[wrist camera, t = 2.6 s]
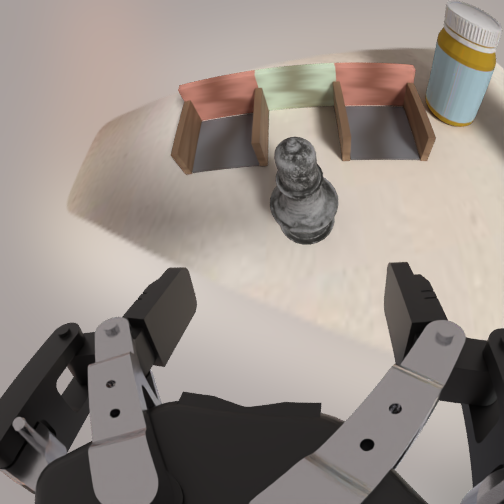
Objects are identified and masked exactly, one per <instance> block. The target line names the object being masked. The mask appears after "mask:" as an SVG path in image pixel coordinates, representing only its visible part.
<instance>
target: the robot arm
mask: <svg viewBox="0 0 504 504" xmlns="http://www.w3.org/2000/svg"><path fill="white" fill-rule="evenodd" d="M196 307H197V301H196V297H195V293H194V289H193V285H192V282H191V278H190V274H189V271H188V269H187V268H168V269H167V270H166V271H165V272H164V274H163V275H162V276H161V277H160V278H159V279H158V280H156V281H155V282H153V283H152V284H150V285H149V286H148V287H147V288H146V289H145V290H144V292H143V294H141V295H140V296H139V298H138V300H136V301H135V302H134V304H133V305H132V306H131V307H130V308H129V310H128V311H127V312H126V313H125V314H124V316H123V317H115V318H111V319H108V320H106V321H104V322H103V323H101V324H100V325H99V326H98V327H97V329H96V331H95V332H92V333H84V334H83V333H82V331H81V329H80V327H79V325H78V324H76V323H67V324H65V325H62V326H61V327H59V328H58V329H56V330H55V331H54V332H53V334H52V335H51V336H50V337H49V338H48V339H47V340H46V342H45V343H44V344H43V345H42V346H41V348H40V349H39V350H38V351H37V353H36V354H35V355H34V356H33V357H32V358H31V360H30V361H29V362H28V363H27V365H26V366H25V367H24V368H23V370H22V371H21V372H20V373H19V375H18V376H17V377H16V379H15V380H14V381H13V383H12V384H11V385H10V386H9V388H8V389H7V390H6V392H5V393H4V394H3V396H2V397H1V398H0V471H1V472H3V473H4V474H5V475H7V476H8V477H9V478H10V479H12V480H13V481H14V482H16V483H18V484H20V485H22V486H23V487H24V488H25V489H27V490H28V491H30V492H31V493H33V494H35V504H428V503H427V502H426V501H424V499H423V498H422V497H421V496H420V495H419V494H418V493H417V492H416V491H415V490H414V489H413V488H412V487H411V486H410V485H409V484H408V483H407V482H406V481H405V480H404V479H403V478H402V477H401V476H400V475H399V474H398V473H397V472H396V471H395V469H396V468H397V466H398V465H399V463H400V462H401V461H402V459H403V458H404V456H405V455H406V454H407V452H408V450H409V449H410V447H411V446H412V444H413V443H414V441H415V440H416V438H417V437H418V435H419V433H420V432H421V430H422V429H423V427H424V426H425V424H426V422H427V421H428V419H429V417H430V416H431V414H432V412H433V410H434V409H435V407H436V405H437V403H438V402H439V400H440V401H447V402H454V403H461V405H462V409H463V415H464V420H465V426H466V432H467V438H468V444H469V452H470V460H471V470H472V481H473V489H471V490H470V491H469V492H468V493H467V494H466V495H465V496H464V498H463V499H462V501H461V504H504V329H503V328H502V329H496V330H494V331H493V332H492V333H491V334H490V335H489V338H488V340H487V341H485V340H477V339H471V338H467V337H465V333H464V331H463V330H462V328H461V327H460V326H458V325H457V324H455V323H453V322H451V321H448V319H447V317H446V315H445V313H444V311H443V309H442V307H441V304H440V302H439V300H438V299H437V296H436V294H435V292H433V288H432V286H431V284H430V282H429V281H428V280H427V279H425V278H424V277H423V276H422V275H420V274H418V275H414V274H413V272H412V270H411V268H410V266H409V264H408V263H407V262H396V263H389V264H388V267H387V277H386V287H385V296H384V311H385V316H386V320H387V325H388V329H389V333H390V338H391V343H392V347H393V352H394V357H395V362H396V364H394V365H393V366H392V367H391V368H390V369H389V371H388V372H387V373H386V374H385V376H384V377H383V378H382V380H381V381H380V382H379V383H378V385H377V386H376V387H375V388H374V389H373V391H372V392H371V393H370V394H369V395H368V397H367V398H366V399H365V400H364V402H363V403H362V404H361V405H360V406H359V407H358V408H357V409H356V410H355V412H354V413H353V414H352V415H351V416H350V417H349V418H348V419H347V420H346V421H343V420H340V419H338V418H336V417H333V416H330V415H327V414H323V413H321V403H295V402H283V403H276V404H269V405H262V406H254V407H244V406H240V405H237V404H234V403H232V402H229V401H226V400H223V399H220V398H218V397H215V396H209V395H202V394H195V393H188V392H183V393H182V395H181V397H180V399H179V401H175V402H168V403H164V404H162V403H161V399H160V396H159V393H158V390H157V386H156V383H155V379H154V376H153V373H152V371H151V367H152V365H156V366H162V367H165V365H166V364H167V362H168V360H169V358H170V356H171V355H172V352H173V351H174V349H175V347H176V345H177V344H178V342H179V340H180V339H181V337H182V335H183V333H184V331H185V330H186V328H187V326H188V324H189V323H190V321H191V319H192V317H193V316H194V314H195V312H196ZM66 367H68V369H69V370H70V372H71V373H72V375H73V376H74V378H73V379H72V381H71V382H70V384H69V385H68V387H67V388H66V390H65V391H64V392H63V394H62V395H60V394H59V392H58V391H57V388H56V382H57V379H58V378H59V376H60V375H61V374H62V372H63V371H64V369H65V368H66ZM89 413H90V421H91V431H92V441H91V442H89V443H87V444H85V445H83V446H81V447H79V448H78V449H76V450H74V451H72V452H70V453H68V454H67V452H68V450H69V449H70V447H71V445H72V443H73V441H74V439H75V438H76V436H77V434H78V432H79V430H80V428H81V427H82V425H83V423H84V421H85V420H86V418H87V416H88V414H89Z"/></svg>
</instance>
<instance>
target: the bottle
mask: <svg viewBox="0 0 504 504" xmlns="http://www.w3.org/2000/svg"><path fill="white" fill-rule="evenodd" d="M501 32H502V27H501V25H500V24H499V22H498V21H497V20H496V19H494V18H493V17H492V16H490V15H489V14H488V13H486V12H484V11H483V10H481V9H479V8H477V7H475V6H473V5H470V4H467V3H464V2H460V1H448V2H447V4H446V11H445V21H444V27H443V29H442V30H441V31H440V33H439V35H438V39H437V44H436V49H435V54H434V59H433V64H432V69H431V74H430V79H429V83H428V87H427V92H426V103H427V105H428V107H429V109H430V110H431V111H432V113H433V114H434V115H435V116H436V117H437V118H438V119H440V120H441V121H443V122H445V123H446V124H449V125H452V126H458V127H462V126H467V125H470V124H471V123H472V122H473V120H474V118H475V116H476V114H477V112H478V109H479V107H480V105H481V102H482V100H483V97H484V95H485V92H486V90H487V87H488V85H489V82H490V79H491V77H492V74H493V71H494V68H495V64H496V55H495V51H496V49H497V44H498V43H499V39H500V36H501Z"/></svg>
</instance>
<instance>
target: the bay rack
mask: <svg viewBox="0 0 504 504" xmlns="http://www.w3.org/2000/svg"><path fill="white" fill-rule="evenodd" d="M415 71H416V70H415V68H414V66H413V65H407V64H392V63H322V64H306V65H294V66H284V67H275V68H267V69H260V70H253V71H246V72H240V73H234V74H229V75H223V76H218V77H214V78H209V79H204V80H199V81H195V82H191V83H187V84H183V85H180V86H179V89H178V91H179V93H180V95H181V96H182V98H183V100H184V101H185V102H184V105H183V109H182V112H181V116H180V120H179V124H178V127H177V131H176V135H175V139H174V143H173V148H172V152H171V156H172V158H173V159H174V160H175V161H176V163H177V164H178V165H179V167H180V168H181V169H182V170H183V172H184V173H185V174H186V175H187V174H192V172H193V173H196V172H204V171H212V170H220V169H229V168H238V167H248V166H258V165H259V164H260V166H267V165H268V130H269V111H270V110H280V109H290V108H303V107H318V106H334V108H335V114H336V120H337V126H338V133H339V139H340V146H341V153H342V161H350V158H351V160H383V159H389V160H420V161H427V159H428V157H429V154H430V152H431V149H432V147H433V144H434V142H435V139H436V137H435V134H434V132H433V129H432V126H431V123H430V121H429V118H428V116H427V113H426V111H425V108H424V106H423V103H422V101H421V99H420V96H419V94H418V92H417V90H416V87H415V85H414V83H413V82H414V77H415ZM345 105H393V106H403V107H391V106H345ZM404 110H405V111H404ZM246 113H253V114H246ZM239 114H246V115H239ZM232 115H239V116H232ZM226 116H232V117H226ZM219 117H226V118H220V119H214V118H219ZM208 119H214V120H208ZM202 120H208V121H202ZM414 140H415V141H414ZM417 150H418V151H417ZM419 157H420V158H419Z"/></svg>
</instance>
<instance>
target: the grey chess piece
mask: <svg viewBox="0 0 504 504" xmlns="http://www.w3.org/2000/svg"><path fill="white" fill-rule="evenodd" d="M274 159H275V163H276V166H277V169H278V171H277V174H276V184H277V186H276V187H275V189H274V190H273V193H272V195H271V198H270V208H271V212H272V215H273V217H274V219H275V220H276V222H277V223H278V224H279V225H280V226H281V229H282V231H283V232H284V234H285V235H286V236H287V237H288V238H289V239H290V240H292V241H294V242H296V243H299V244H314V243H318V242H319V241H321V240H323V239H325V238H326V237H327V236H328V235H329V233H330V232H331V230H332V228H333V225H334V216H335V214H336V212H337V208H338V196H337V193H336V190H335V188H334V187H333V186H332V184H331V183H330V182H329V181H328V180H326V179H325V178H324V177H323V172H322V170H321V168H320V167H319V165H318V164H317V160H316V152H315V149H314V147H313V146H312V144H311V143H310V142H309V141H307V140H306V139H303V138H300V137H290V138H287V139H285V140H283V141H282V142H281V143H280V144H279V145H278V146H277V147H276V150H275V156H274Z"/></svg>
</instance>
